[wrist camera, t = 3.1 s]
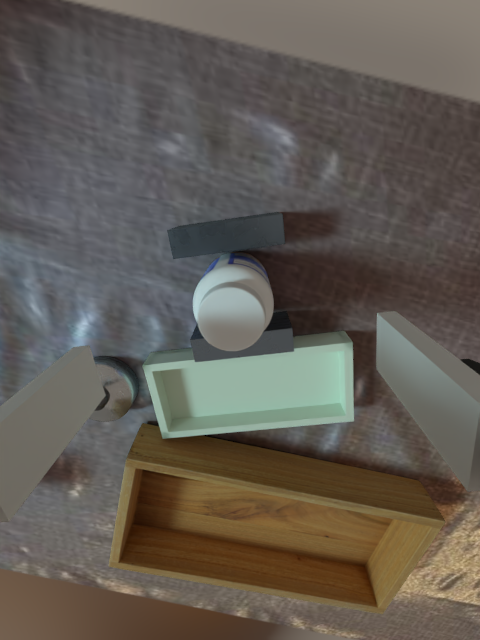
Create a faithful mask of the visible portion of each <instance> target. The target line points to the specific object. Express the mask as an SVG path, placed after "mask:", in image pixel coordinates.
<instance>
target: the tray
mask: <svg viewBox="0 0 480 640" xmlns="http://www.w3.org/2000/svg"><path fill="white" fill-rule="evenodd" d="M444 524H445V520H444V518H443V516H442V515H441V513H440V512H439V510H438V508H437V507H436V505H435V504H434V502H433V501H432V499H431V497H430V496H429V494H428V492H427V491H426V489H425V488H424V486H423V485H422V484H421V482H420V481H418V480H413V479H409V478H404V477H400V476H395V475H391V474H386V473H381V472H376V471H372V470H367V469H362V468H357V467H352V466H348V465H343V464H338V463H333V462H328V461H323V460H319V459H314V458H309V457H304V456H299V455H295V454H290V453H285V452H280V451H275V450H270V449H265V448H260V447H255V446H250V445H246V444H241V443H236V442H231V441H226V440H221V439H217V438H212V437H207V436H202V435H198V436H188V437H177V438H166V439H163V438H162V434H161V431H160V427H159V426H155V425H150V424H145V423H142V425H141V427H140V429H139V431H138V433H137V436H136V438H135V440H134V442H133V444H132V447H131V449H130V451H129V453H128V456H127V458H126V463H125V469H124V475H123V481H122V487H121V493H120V499H119V504H118V510H117V517H116V523H115V529H114V535H113V541H112V548H111V554H110V560H109V567H114V568H119V569H124V570H130V571H136V572H142V573H148V574H153V575H159V576H165V577H171V578H177V579H183V580H188V581H194V582H200V583H206V584H212V585H218V586H223V587H229V588H235V589H240V590H246V591H252V592H258V593H264V594H269V595H275V596H281V597H286V598H292V599H298V600H304V601H309V602H315V603H320V604H326V605H332V606H337V607H343V608H349V609H354V610H360V611H366V612H372V613H378V614H383V613H384V611H385V610H386V608H387V607H388V605H389V604H390V603H391V601H392V600H393V598H394V597H395V596H396V594H397V593H398V591H399V590H400V588H401V587H402V585H403V584H404V582H405V581H406V579H407V578H408V576H409V575H410V574H411V572H412V571H413V569H414V568H415V566H416V565H417V563H418V562H419V560H420V559H421V557H422V556H423V555H424V553H425V552H426V550H427V549H428V547H429V546H430V544H431V543H432V541H433V540H434V539H435V537H436V536H437V534H438V533H439V531H440V530H441V528H442V527H443V525H444Z"/></svg>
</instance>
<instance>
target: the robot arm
mask: <svg viewBox="0 0 480 640" xmlns="http://www.w3.org/2000/svg"><path fill="white" fill-rule="evenodd" d="M376 369H377V370H378V372H379V373H380V374H381V376H382V377H383V379H384V380H385V381H386V383H387V384H388V385H389V387H390V388H391V389H392V391H393V392H394V393H395V395H396V396H397V397H398V399H399V400H400V401H401V403H402V404H403V405H404V407H405V408H406V409H407V411H408V412H409V413H410V415H411V416H412V417H413V419H414V420H415V422H416V423H417V424H418V426H419V427H420V428H421V430H422V431H423V432H424V434H425V435H426V436H427V438H428V439H429V440H430V442H431V443H432V444H433V446H434V447H435V448H436V450H437V451H438V452H439V454H440V455H441V456H442V458H443V459H444V460H445V462H446V463H447V465H448V466H449V467H450V469H451V470H452V471H453V473H454V474H455V475H456V477H457V478H458V479H459V481H460V482H461V483H462V485H463V486H464V487H465V489H466V490H467V491H468V492H470V491H480V363H478V362H475V361H473V360H470V359H461V360H459V359H458V358H457V357H455V356H454V355H453V354H451V353H450V352H449V351H447V350H446V349H445V348H443V347H442V346H441V345H439V344H438V343H437V342H436V341H434V340H433V339H432V338H430V337H429V336H428V335H426V334H425V333H424V332H422V331H421V330H420V329H418V328H417V327H416V326H414V325H413V324H412V323H410V322H409V321H408V320H407V319H405V318H404V317H403V316H401V315H400V314H399V313H397V312H396V311H390V312H381V313H377V354H376ZM105 396H106V395H105V392H104V389H103V386H102V383H101V380H100V377H99V373H98V370H97V367H96V364H95V361H94V358H93V355H92V352H91V349H90V346H89V345H88V346H80V347H73V348H72V349H71V350H70V351H68V352H67V353H66V354H65V355H63V356H62V357H61V358H60V359H58V360H57V361H56V362H55V363H53V364H52V365H51V366H50V367H48V368H47V369H46V370H45V371H44V372H42V373H41V374H40V375H39V376H37V377H36V378H35V379H34V380H32V381H31V382H30V383H29V384H27V385H26V386H25V387H24V388H22V389H21V390H20V391H19V392H17V393H16V394H15V395H14V396H12V397H11V398H10V399H9V400H7V401H6V402H5V403H4V404H3V405H1V406H0V522H9V521H10V520H11V519H12V517H13V516H14V515H15V513H16V512H17V511H18V510H19V508H20V507H21V506H22V504H23V503H24V502H25V500H26V499H27V498H28V496H29V495H30V494H31V493H32V491H33V490H34V489H35V487H36V486H37V485H38V483H39V482H40V481H41V479H42V478H43V477H44V476H45V474H46V473H47V472H48V470H49V469H50V468H51V466H52V465H53V464H54V462H55V461H56V460H57V459H58V457H59V456H60V455H61V453H62V452H63V451H64V449H65V448H66V447H67V445H68V444H69V443H70V442H71V440H72V439H73V438H74V436H75V435H76V434H77V432H78V431H79V430H80V428H81V427H82V426H83V425H84V423H85V422H86V421H87V419H88V418H89V417H90V415H91V414H92V413H93V411H94V410H95V409H96V408H97V406H98V405H99V404H100V402H101V401H102V400H103V398H104V397H105Z"/></svg>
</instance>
